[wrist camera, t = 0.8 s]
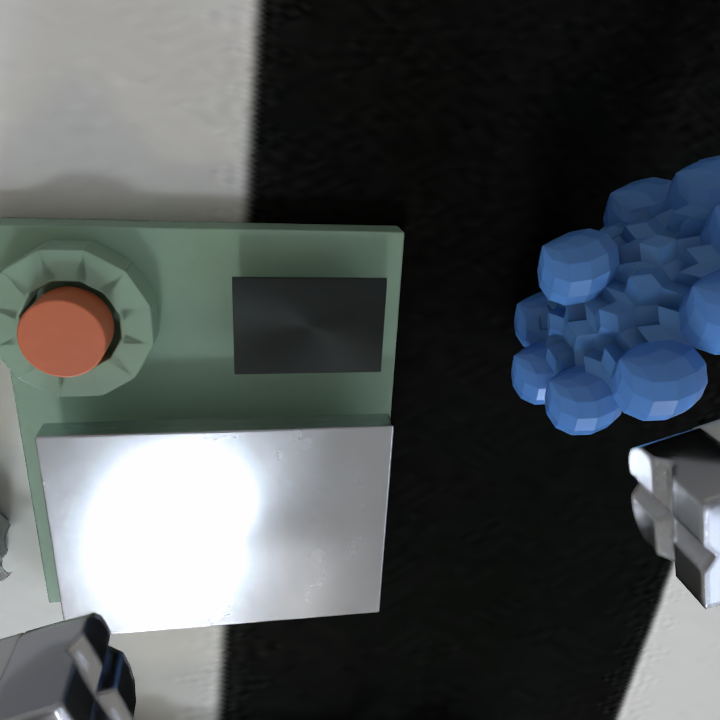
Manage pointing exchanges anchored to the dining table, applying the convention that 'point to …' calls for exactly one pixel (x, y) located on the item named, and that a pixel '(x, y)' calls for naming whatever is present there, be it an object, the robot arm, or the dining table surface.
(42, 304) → the button
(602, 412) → the grapes
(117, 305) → the scale
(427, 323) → the dining table surface
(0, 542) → the egg carton
